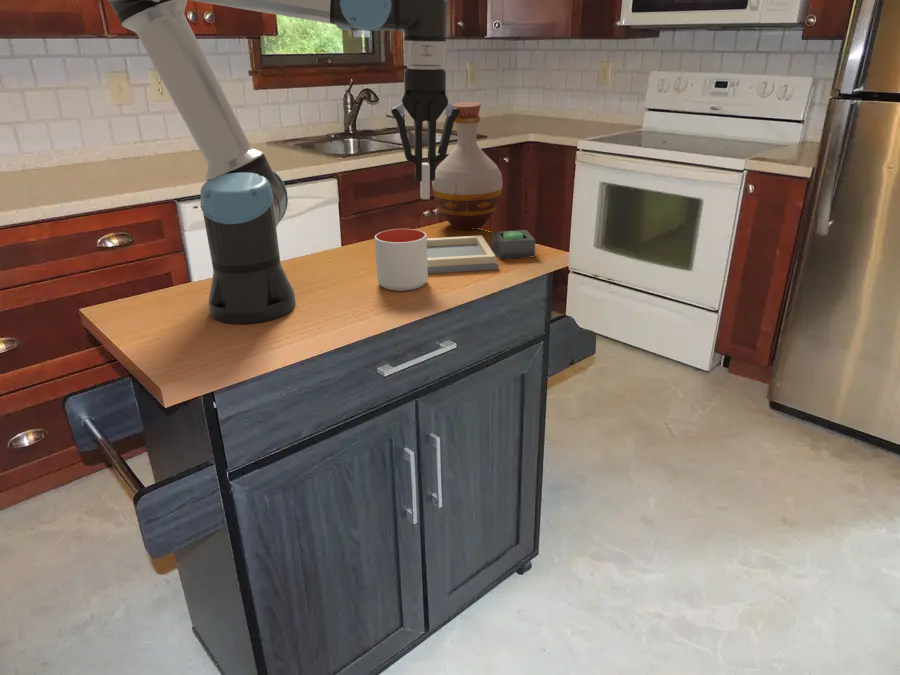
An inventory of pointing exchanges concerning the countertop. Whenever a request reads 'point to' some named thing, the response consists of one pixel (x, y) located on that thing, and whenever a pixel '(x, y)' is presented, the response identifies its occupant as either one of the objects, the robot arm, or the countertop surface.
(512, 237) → the button
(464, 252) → the tray
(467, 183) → the jug
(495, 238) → the dark grey square box
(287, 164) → the countertop surface
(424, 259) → the cup
